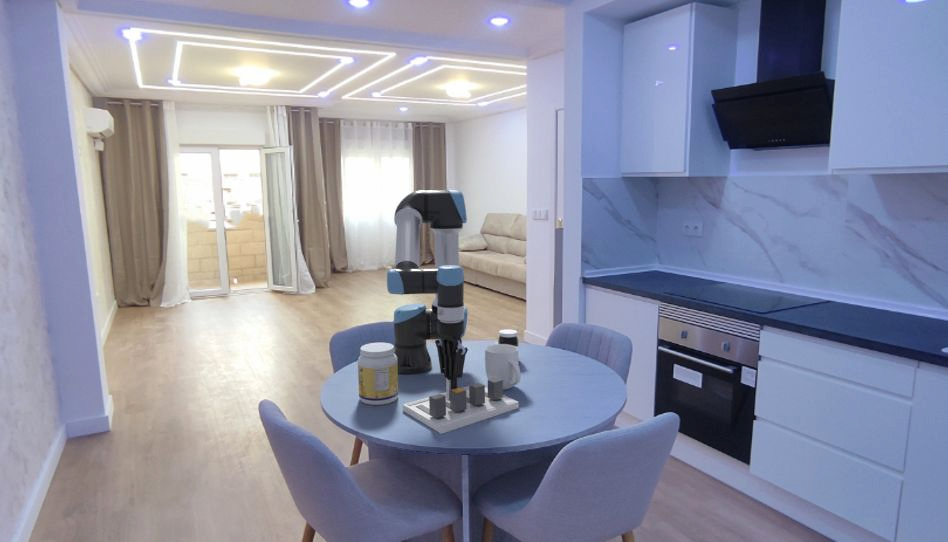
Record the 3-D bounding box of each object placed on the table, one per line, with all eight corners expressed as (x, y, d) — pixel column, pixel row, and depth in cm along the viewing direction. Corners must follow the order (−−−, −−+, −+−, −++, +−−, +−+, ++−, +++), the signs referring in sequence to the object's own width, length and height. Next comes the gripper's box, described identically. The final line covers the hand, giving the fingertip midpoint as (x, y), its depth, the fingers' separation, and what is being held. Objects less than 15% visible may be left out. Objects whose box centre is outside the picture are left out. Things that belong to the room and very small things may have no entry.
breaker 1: (429, 415, 154) (429, 396, 153) (439, 411, 156) (439, 393, 155) (435, 418, 151) (435, 399, 150) (446, 415, 153) (445, 396, 153)
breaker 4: (487, 397, 166) (487, 379, 166) (496, 394, 168) (496, 377, 168) (494, 400, 164) (494, 382, 163) (502, 397, 166) (502, 380, 165)
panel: (403, 410, 163) (402, 403, 163) (477, 389, 180) (477, 383, 180) (441, 433, 147) (441, 426, 147) (518, 408, 164) (518, 401, 164)
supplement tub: (355, 395, 176) (353, 344, 173) (392, 389, 180) (391, 339, 178) (363, 409, 165) (361, 354, 162) (403, 402, 169) (401, 349, 167)
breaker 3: (469, 402, 162) (469, 385, 161) (478, 400, 164) (478, 382, 163) (475, 406, 160) (475, 387, 159) (484, 403, 162) (484, 385, 161)
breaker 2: (450, 409, 158) (450, 389, 157) (460, 406, 160) (459, 386, 159) (456, 412, 155) (456, 392, 155) (466, 409, 157) (466, 389, 157)
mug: (532, 391, 178) (532, 352, 176) (505, 398, 172) (505, 358, 170) (505, 378, 190) (505, 342, 188) (478, 384, 184) (478, 347, 182)
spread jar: (519, 365, 204) (519, 335, 203) (488, 365, 205) (488, 335, 203) (517, 355, 216) (517, 327, 215) (488, 355, 216) (488, 327, 215)
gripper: (427, 317, 159) (428, 395, 162) (453, 326, 149) (454, 409, 152) (448, 314, 164) (449, 390, 167) (475, 322, 153) (475, 402, 157)
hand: (451, 399), depth 160 cm, fingers closed
